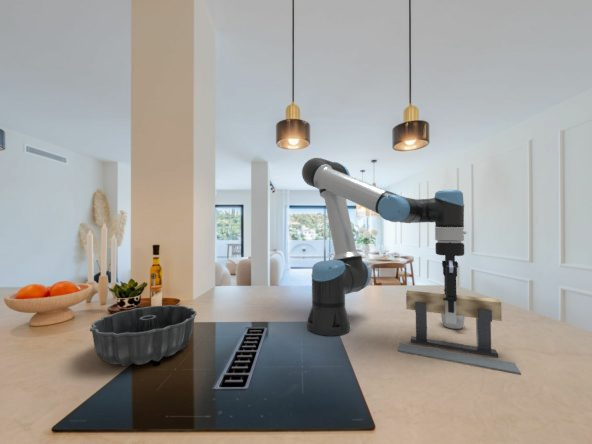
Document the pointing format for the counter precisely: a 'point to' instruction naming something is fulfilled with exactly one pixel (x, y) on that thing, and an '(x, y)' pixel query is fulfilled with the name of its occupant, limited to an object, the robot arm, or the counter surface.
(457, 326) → the cup
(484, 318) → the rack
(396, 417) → the counter surface
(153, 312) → the bundt pan
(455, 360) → the grey base plate
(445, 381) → the counter surface
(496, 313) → the rail
